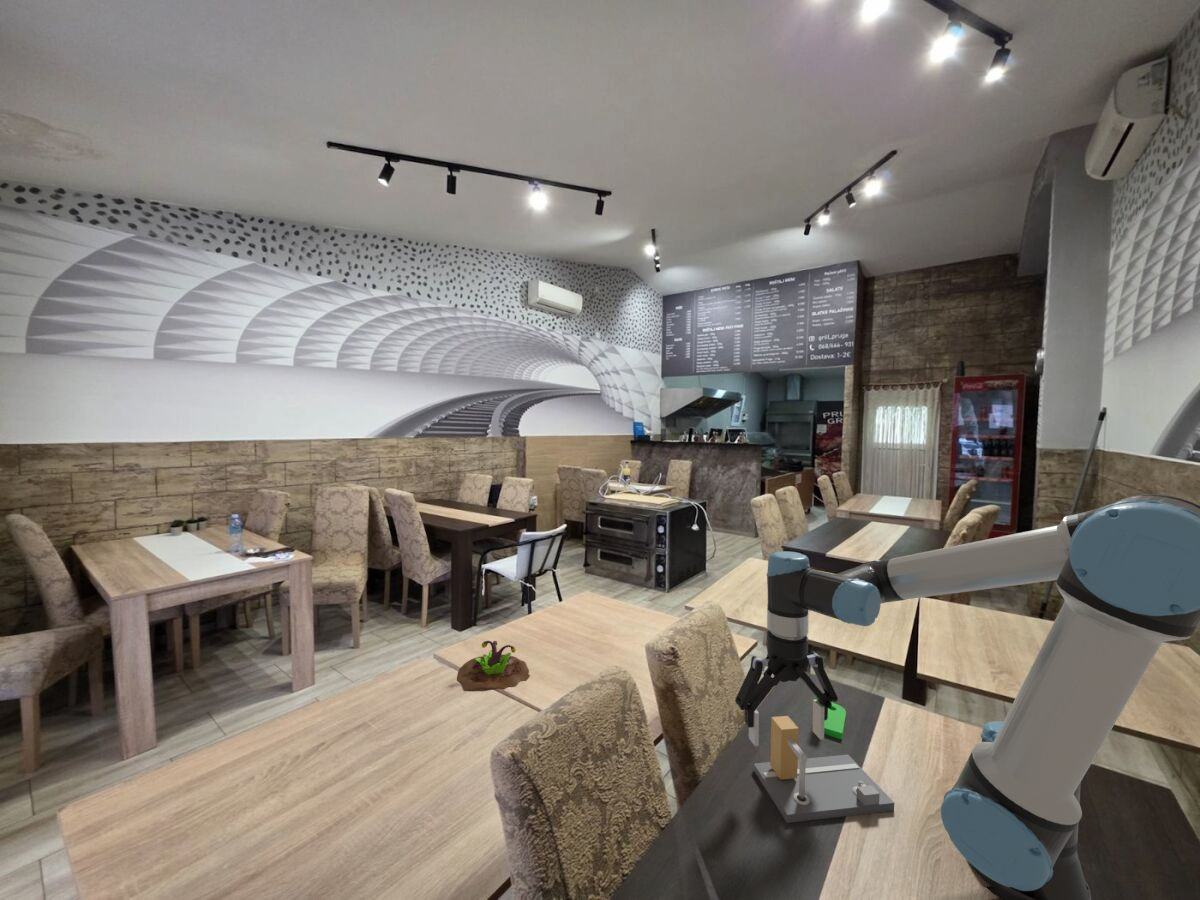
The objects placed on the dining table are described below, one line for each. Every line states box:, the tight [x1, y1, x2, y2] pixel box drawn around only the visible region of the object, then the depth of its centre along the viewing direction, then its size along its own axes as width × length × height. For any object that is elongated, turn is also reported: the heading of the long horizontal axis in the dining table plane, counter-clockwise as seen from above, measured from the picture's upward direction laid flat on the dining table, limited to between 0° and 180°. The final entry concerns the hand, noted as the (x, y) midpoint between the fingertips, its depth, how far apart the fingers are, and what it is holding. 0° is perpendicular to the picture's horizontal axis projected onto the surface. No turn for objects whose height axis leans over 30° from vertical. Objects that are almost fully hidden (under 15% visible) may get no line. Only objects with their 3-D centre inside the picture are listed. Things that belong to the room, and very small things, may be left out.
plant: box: [456, 640, 531, 692], centre depth 133 cm, size 20×20×11 cm
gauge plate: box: [753, 754, 895, 824], centre depth 93 cm, size 13×21×4 cm, turn 98°
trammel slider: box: [769, 715, 808, 797], centre depth 92 cm, size 9×4×10 cm, turn 8°
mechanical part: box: [814, 695, 847, 741], centre depth 114 cm, size 12×6×8 cm, turn 148°
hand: (786, 738), depth 94 cm, fingers open, 13 cm apart
